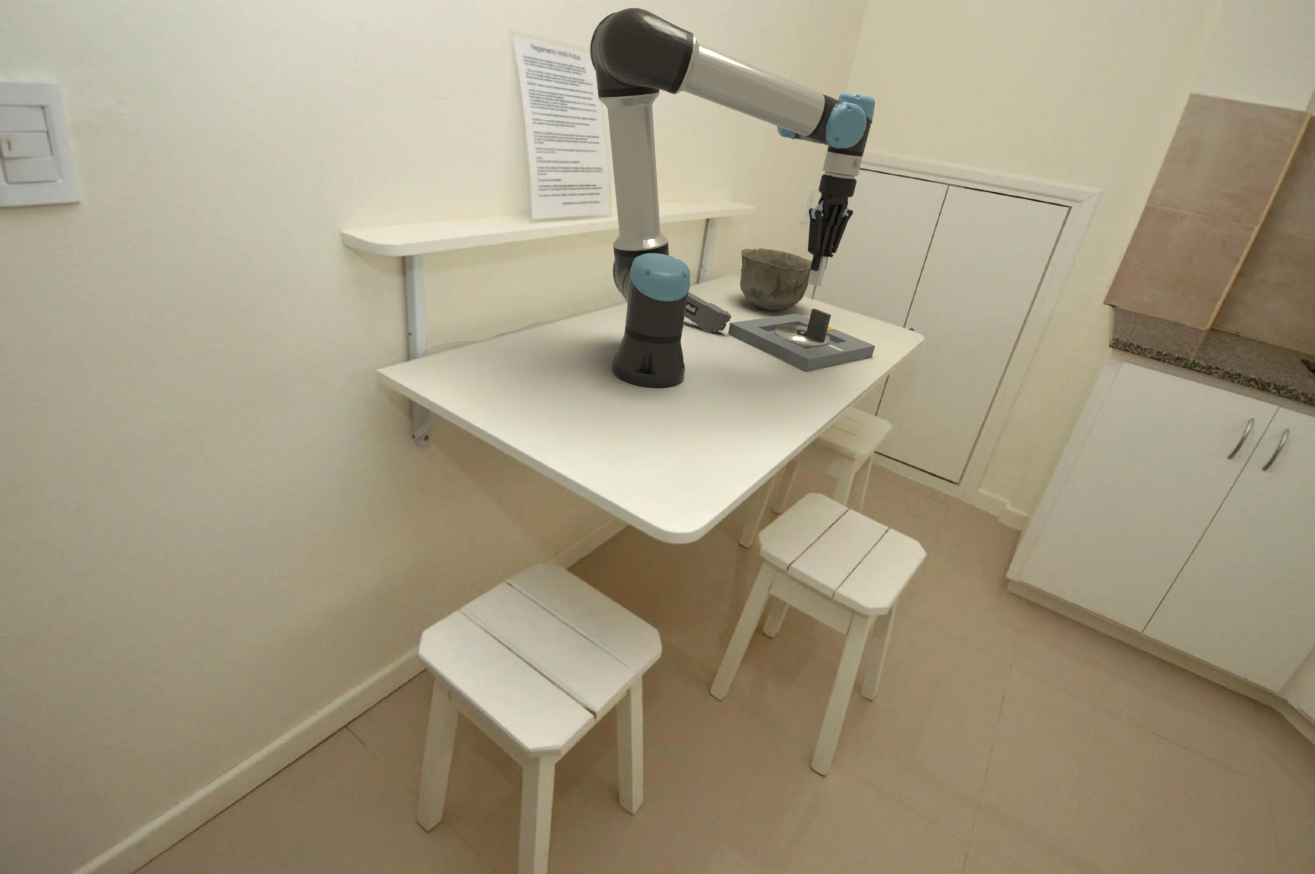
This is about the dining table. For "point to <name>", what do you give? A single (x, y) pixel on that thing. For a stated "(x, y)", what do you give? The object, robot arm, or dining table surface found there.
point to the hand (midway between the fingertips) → (814, 284)
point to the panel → (806, 359)
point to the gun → (706, 314)
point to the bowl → (773, 278)
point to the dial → (807, 331)
